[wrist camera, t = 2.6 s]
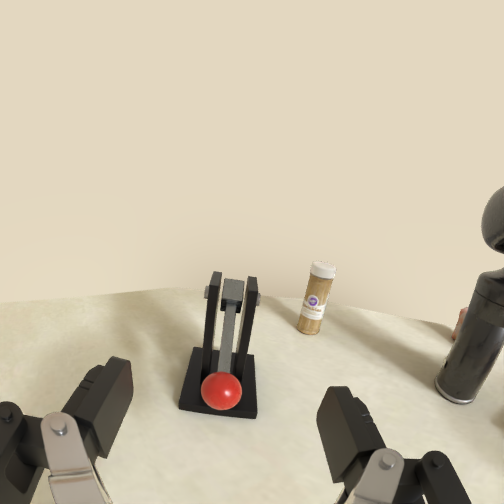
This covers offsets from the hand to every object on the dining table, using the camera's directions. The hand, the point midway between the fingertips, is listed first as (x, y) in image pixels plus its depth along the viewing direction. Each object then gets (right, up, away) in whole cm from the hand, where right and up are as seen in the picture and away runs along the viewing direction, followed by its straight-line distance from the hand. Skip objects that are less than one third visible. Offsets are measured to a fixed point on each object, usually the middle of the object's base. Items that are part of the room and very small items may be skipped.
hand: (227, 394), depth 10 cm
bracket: (-3, -12, +24) cm, 27 cm away
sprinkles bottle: (+12, -10, +42) cm, 45 cm away
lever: (-2, -4, +17) cm, 18 cm away
